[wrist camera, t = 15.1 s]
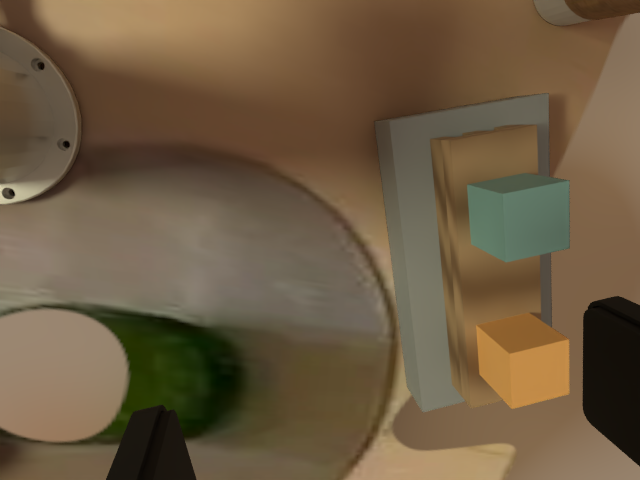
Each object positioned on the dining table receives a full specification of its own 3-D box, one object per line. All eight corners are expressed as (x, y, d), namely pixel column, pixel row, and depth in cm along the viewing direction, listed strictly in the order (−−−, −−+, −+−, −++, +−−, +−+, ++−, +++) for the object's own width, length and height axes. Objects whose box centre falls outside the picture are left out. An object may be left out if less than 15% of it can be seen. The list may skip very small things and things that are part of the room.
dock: (374, 121, 36) (389, 121, 32) (517, 96, 38) (548, 92, 34) (407, 387, 43) (422, 412, 39) (526, 357, 45) (552, 378, 41)
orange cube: (476, 325, 34) (509, 353, 30) (528, 312, 34) (569, 339, 30) (479, 374, 35) (511, 409, 31) (530, 361, 36) (569, 393, 31)
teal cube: (466, 184, 31) (502, 194, 26) (525, 173, 31) (569, 180, 27) (471, 244, 32) (506, 262, 28) (526, 232, 33) (569, 248, 28)
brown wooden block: (429, 139, 33) (450, 140, 30) (508, 124, 34) (537, 124, 30) (452, 384, 39) (471, 408, 36) (518, 367, 40) (542, 389, 37)
